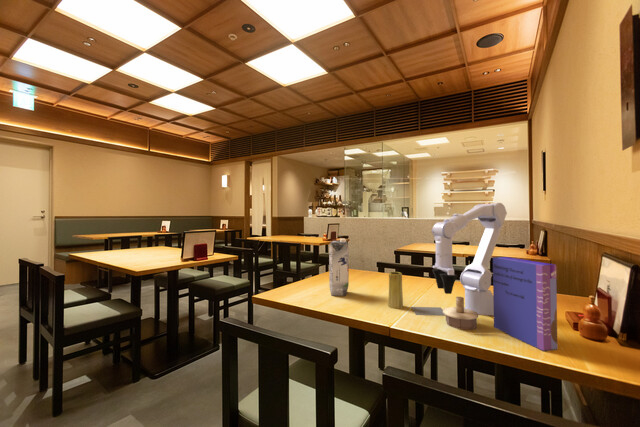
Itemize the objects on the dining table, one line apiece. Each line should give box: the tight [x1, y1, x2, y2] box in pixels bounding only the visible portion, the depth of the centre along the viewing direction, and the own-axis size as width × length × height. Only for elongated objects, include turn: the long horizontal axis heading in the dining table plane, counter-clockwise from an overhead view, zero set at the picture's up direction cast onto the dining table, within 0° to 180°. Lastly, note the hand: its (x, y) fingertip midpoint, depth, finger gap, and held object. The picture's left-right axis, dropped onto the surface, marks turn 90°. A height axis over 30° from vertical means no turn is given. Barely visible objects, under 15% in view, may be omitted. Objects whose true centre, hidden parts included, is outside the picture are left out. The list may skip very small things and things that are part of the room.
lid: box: [442, 296, 479, 320], centre depth 100 cm, size 11×11×6 cm
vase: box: [387, 271, 404, 310], centre depth 121 cm, size 6×6×14 cm
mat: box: [410, 306, 446, 317], centre depth 115 cm, size 12×10×1 cm
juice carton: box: [328, 238, 350, 297], centre depth 143 cm, size 9×10×27 cm
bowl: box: [445, 315, 478, 331], centre depth 100 cm, size 9×9×4 cm
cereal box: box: [492, 256, 559, 352], centre depth 90 cm, size 17×5×24 cm, turn 12°
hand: (444, 290), depth 109 cm, fingers open, 7 cm apart
